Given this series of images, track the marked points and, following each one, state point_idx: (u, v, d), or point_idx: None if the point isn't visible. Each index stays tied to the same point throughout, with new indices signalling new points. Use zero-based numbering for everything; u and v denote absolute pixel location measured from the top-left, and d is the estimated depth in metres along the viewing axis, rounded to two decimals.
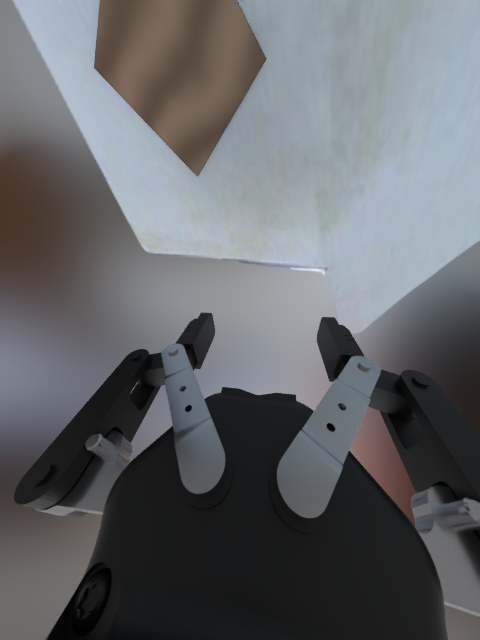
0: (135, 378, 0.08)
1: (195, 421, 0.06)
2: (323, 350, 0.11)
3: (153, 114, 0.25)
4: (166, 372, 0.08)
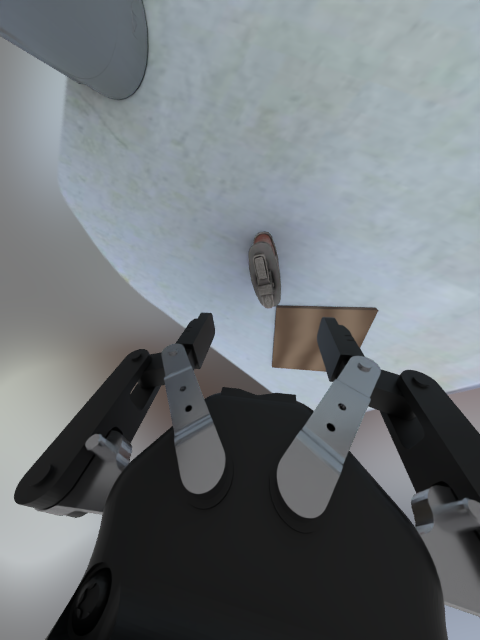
0: (135, 378, 0.08)
1: (195, 421, 0.06)
2: (323, 350, 0.11)
3: (307, 364, 0.37)
4: (166, 372, 0.08)
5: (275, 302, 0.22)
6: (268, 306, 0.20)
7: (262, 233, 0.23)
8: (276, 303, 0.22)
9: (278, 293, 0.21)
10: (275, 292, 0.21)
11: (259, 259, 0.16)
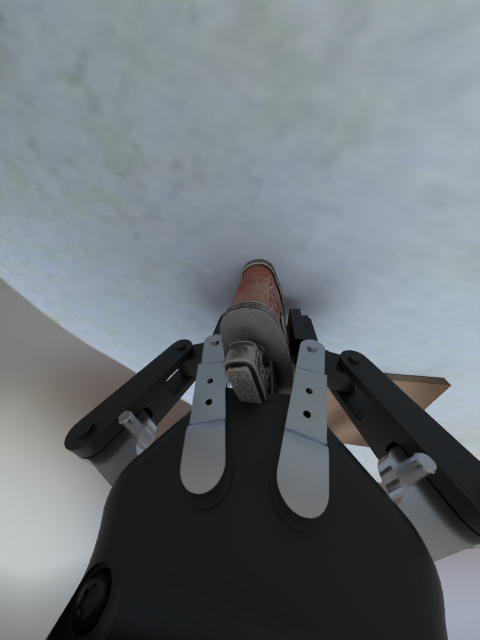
0: (174, 367, 0.08)
1: (195, 421, 0.06)
2: (289, 338, 0.12)
3: None
4: (203, 359, 0.09)
5: None
6: None
7: (256, 263, 0.12)
8: None
9: None
10: None
11: (240, 371, 0.06)
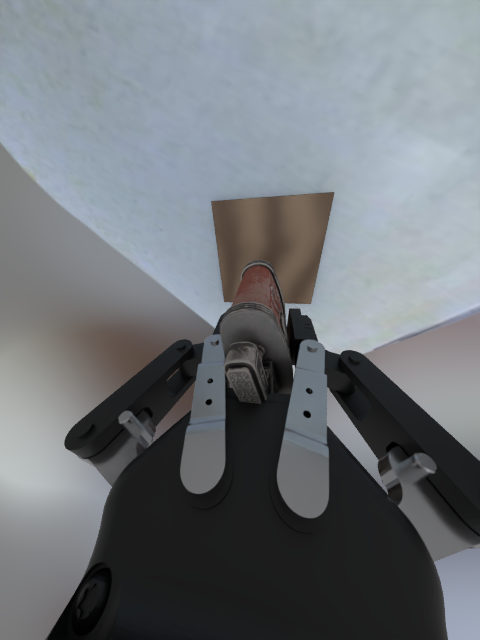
0: (174, 367, 0.08)
1: (195, 421, 0.06)
2: (289, 338, 0.12)
3: None
4: (203, 359, 0.09)
5: None
6: None
7: (256, 264, 0.12)
8: None
9: None
10: None
11: (240, 372, 0.06)
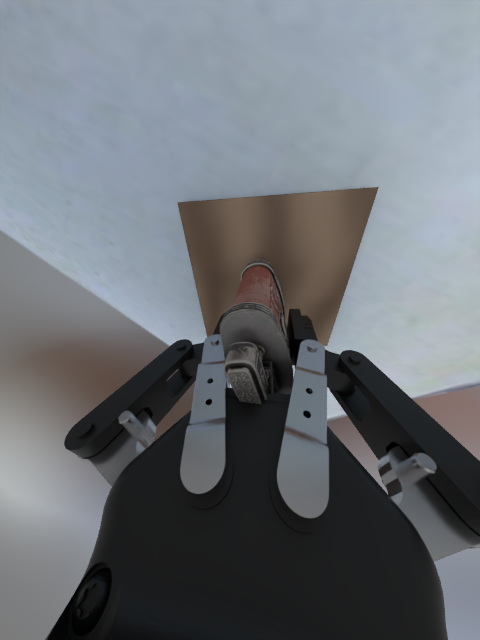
0: (174, 367, 0.08)
1: (195, 421, 0.06)
2: (289, 338, 0.12)
3: None
4: (203, 359, 0.09)
5: None
6: None
7: (256, 264, 0.12)
8: None
9: None
10: None
11: (240, 372, 0.06)
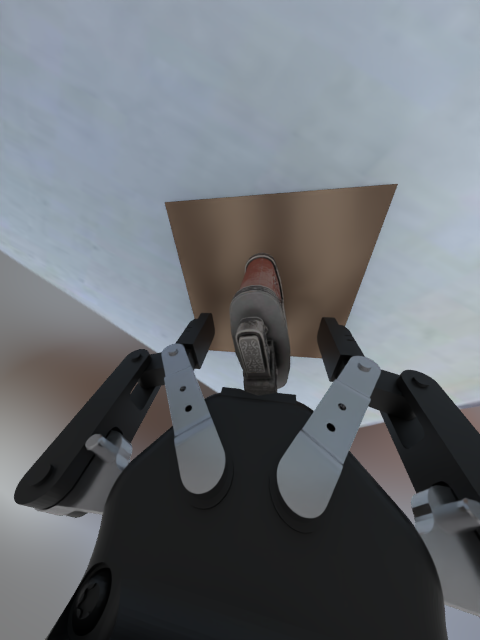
0: (135, 378, 0.08)
1: (195, 421, 0.06)
2: (323, 350, 0.11)
3: None
4: (166, 372, 0.08)
5: (277, 384, 0.12)
6: None
7: (260, 256, 0.13)
8: (278, 386, 0.12)
9: (284, 373, 0.11)
10: (278, 372, 0.11)
11: (250, 339, 0.07)
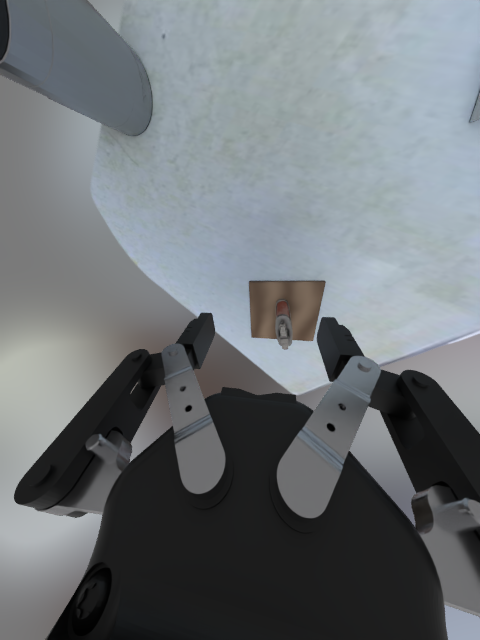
0: (135, 378, 0.08)
1: (195, 421, 0.06)
2: (323, 350, 0.11)
3: None
4: (166, 372, 0.08)
5: (288, 344, 0.36)
6: (284, 348, 0.34)
7: (282, 300, 0.38)
8: (288, 345, 0.36)
9: (290, 340, 0.36)
10: (289, 339, 0.35)
11: (283, 327, 0.31)
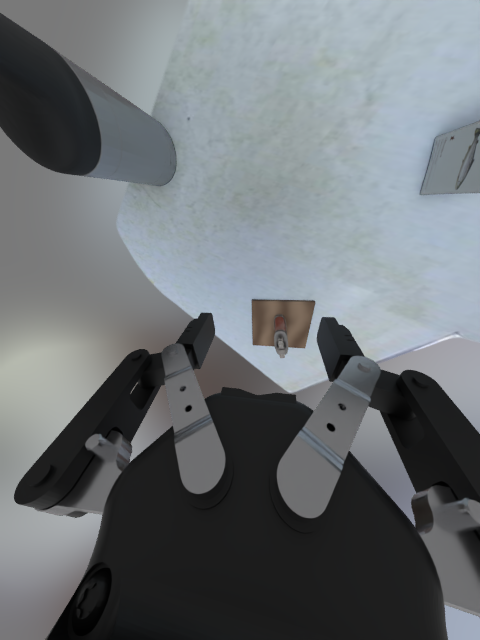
0: (135, 378, 0.08)
1: (195, 421, 0.06)
2: (323, 350, 0.11)
3: None
4: (166, 372, 0.08)
5: (284, 353, 0.44)
6: (282, 357, 0.42)
7: (279, 316, 0.45)
8: (285, 353, 0.44)
9: (286, 350, 0.43)
10: (285, 349, 0.43)
11: (280, 341, 0.39)
